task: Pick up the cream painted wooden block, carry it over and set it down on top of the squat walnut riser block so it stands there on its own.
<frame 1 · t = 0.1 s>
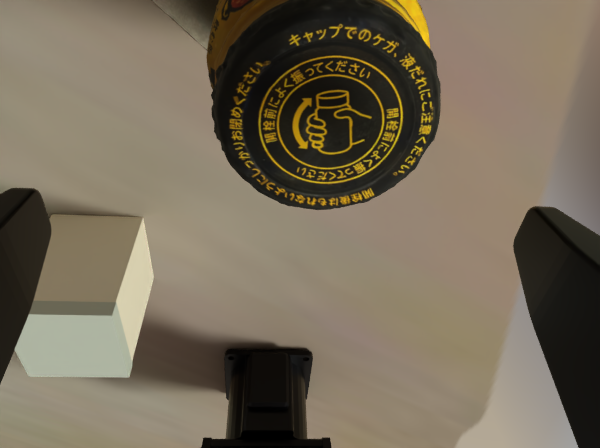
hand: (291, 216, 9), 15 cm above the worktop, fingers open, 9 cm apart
cream block: (106, 247, 29), on the worktop
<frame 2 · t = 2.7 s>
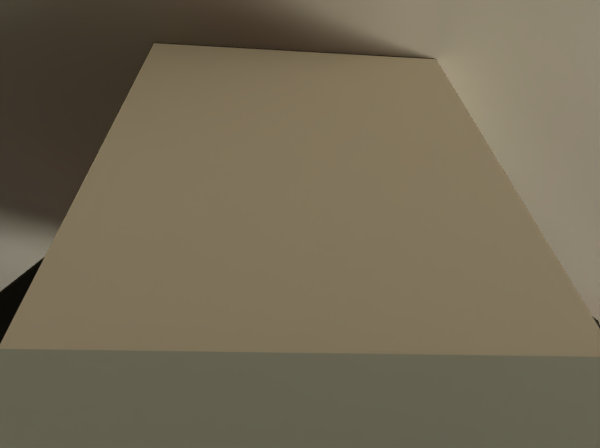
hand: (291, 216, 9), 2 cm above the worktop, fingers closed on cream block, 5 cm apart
cream block: (289, 168, 10), on the worktop, touching gripper
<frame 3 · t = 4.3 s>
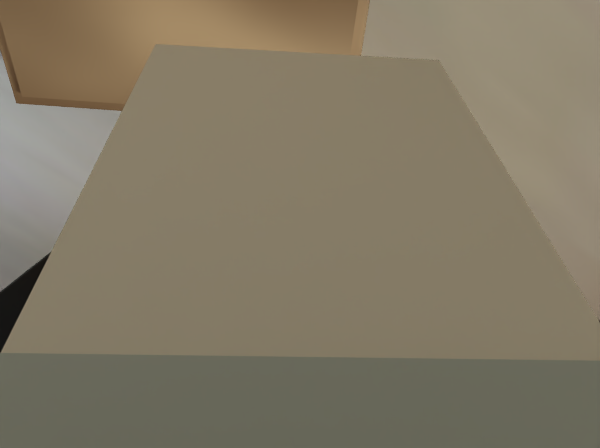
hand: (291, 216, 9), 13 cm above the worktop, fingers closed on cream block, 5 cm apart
cream block: (291, 169, 10), point 11 cm above the worktop, touching gripper
when the fingers open (7 cm above the worktop, at t = 5.9 s): cream block drops 1 cm, point 4 cm above the worktop.
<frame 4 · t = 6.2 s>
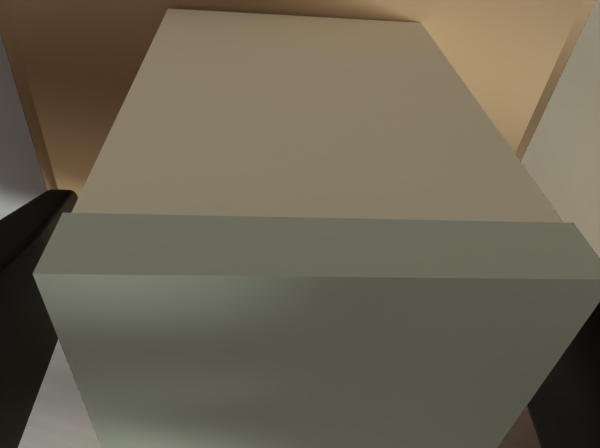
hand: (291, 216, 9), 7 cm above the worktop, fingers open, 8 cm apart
cream block: (289, 128, 11), point 4 cm above the worktop
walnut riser: (285, 58, 15), on the worktop
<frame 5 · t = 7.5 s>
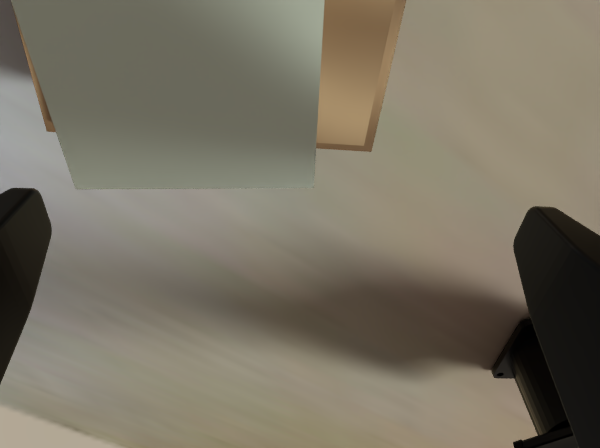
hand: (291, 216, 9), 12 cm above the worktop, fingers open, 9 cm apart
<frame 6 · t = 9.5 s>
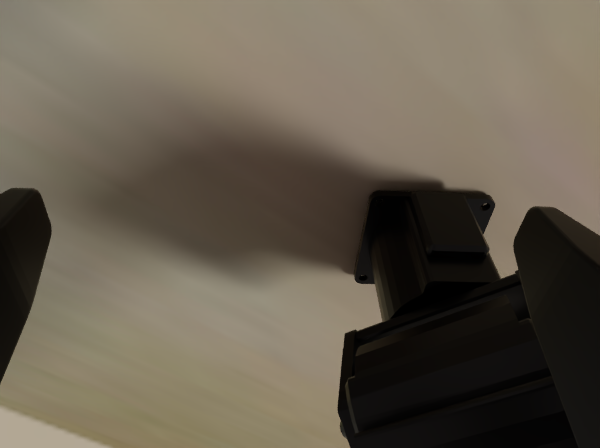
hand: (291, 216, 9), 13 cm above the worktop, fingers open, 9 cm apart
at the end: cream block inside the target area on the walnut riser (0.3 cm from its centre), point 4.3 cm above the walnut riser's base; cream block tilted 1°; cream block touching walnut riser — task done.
